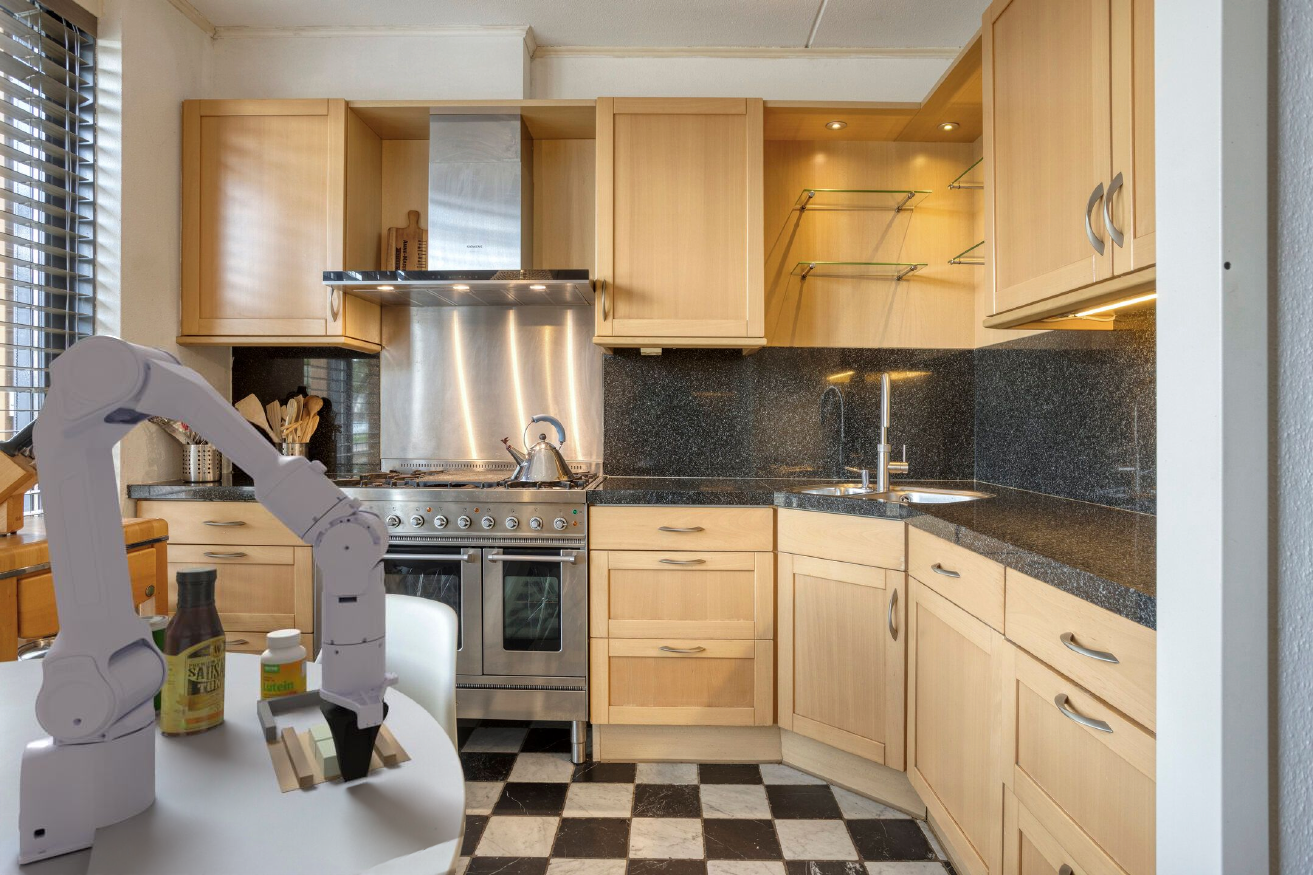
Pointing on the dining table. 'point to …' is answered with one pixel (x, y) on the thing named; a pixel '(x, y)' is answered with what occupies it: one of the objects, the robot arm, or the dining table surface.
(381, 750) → the board
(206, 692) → the sauce bottle
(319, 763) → the tile near
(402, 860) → the dining table surface
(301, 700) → the box
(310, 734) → the tile far
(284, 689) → the supplement bottle
